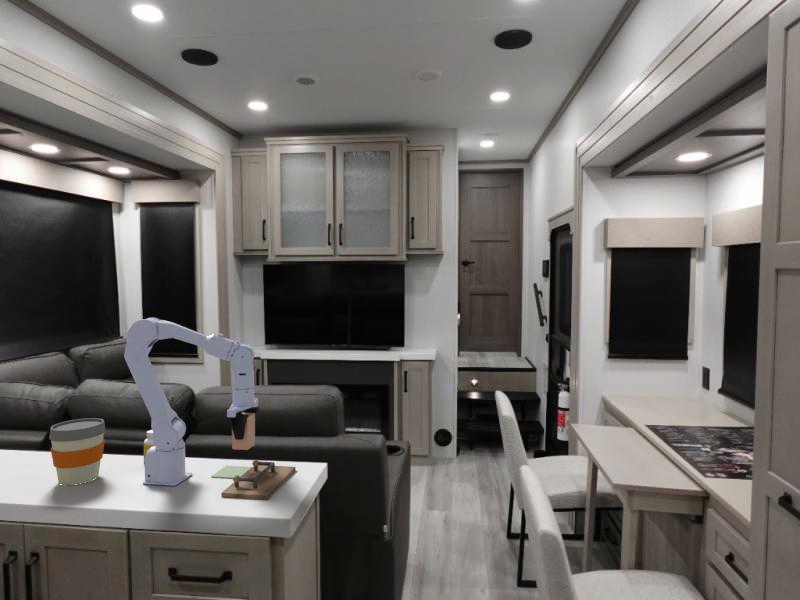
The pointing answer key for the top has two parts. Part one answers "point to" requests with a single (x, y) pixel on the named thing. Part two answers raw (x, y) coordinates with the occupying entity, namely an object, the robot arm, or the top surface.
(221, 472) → the mat
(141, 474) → the top surface
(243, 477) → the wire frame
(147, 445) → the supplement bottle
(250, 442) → the terracotta block
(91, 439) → the reusable coffee cup
